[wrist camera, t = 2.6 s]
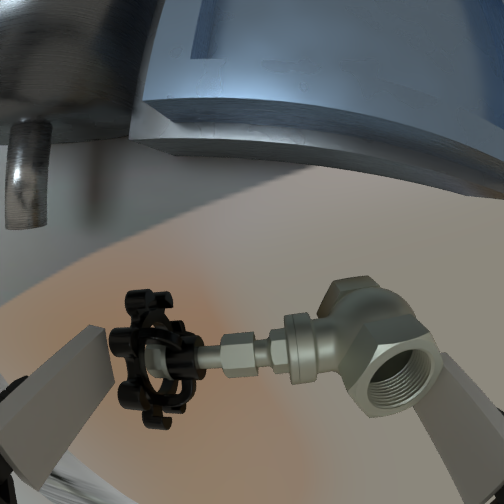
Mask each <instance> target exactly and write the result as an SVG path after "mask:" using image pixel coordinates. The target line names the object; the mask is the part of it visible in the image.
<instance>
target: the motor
mask: <svg viewBox="0 0 504 504" xmlns="http://www.w3.org/2000/svg"><path fill="white" fill-rule="evenodd" d="M126 135H129V140H131V141H134V142H137V143H140V144H143V145H146V146H149V147H151V148H154V149H157V150H160V151H163V152H166V153H168V154H171V155H174V156H205V157H228V158H245V159H258V160H270V161H281V162H291V163H300V164H308V165H316V166H324V167H331V168H339V169H344V170H351V171H357V172H363V173H369V174H374V175H380V176H385V177H390V178H395V179H400V180H404V181H409V182H414V183H418V184H423V185H427V186H431V187H435V188H439V189H443V190H447V191H451V192H454V193H458V194H462V195H465V196H474V197H484V198H493V199H502V200H504V0H0V145H8V152H7V162H6V177H5V229H8V230H22V229H32V228H38V227H42V226H45V225H47V184H48V167H49V155H50V145H51V144H57V143H73V142H85V141H95V140H103V139H110V138H116V137H121V136H126Z"/></svg>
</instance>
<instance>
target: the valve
mask: <svg viewBox="0 0 504 504" xmlns="http://www.w3.org/2000/svg"><path fill="white" fill-rule="evenodd" d="M125 308H126V311H127V313H128V314H129V315H130V316H131V326H130V327H127V328H126V327H125V328H114V329H112V331H111V332H110V335H109V347H110V350H111V352H112V353H113V355H115V356H116V357H124V358H125V360H126V364H127V371H128V378H127V381H124V382H122V383H121V384H120V385H119V388H118V400H119V403H120V405H121V406H122V407H123V408H125V409H131V410H141V411H142V420H143V423H144V425H145V426H146V427H147V428H149V429H160V430H168V429H170V427H171V424H172V418H171V417H163V413H162V410H163V411H164V412H165V413H177V414H183V413H184V412H185V410H186V403H187V402H188V401H189V400H190V399H192V397H193V396H194V394H195V391H196V380H202V379H203V378H204V377H205V375H206V369H211V368H222V369H223V372H224V374H225V375H226V376H227V377H228V378H236V377H249V376H258V367H264V366H265V367H266V366H270V367H272V368H273V371H274V373H275V374H280V373H290V380H291V384H292V385H295V384H302V383H309V382H315V381H316V378H317V374H318V373H324V372H330V371H334V372H337V373H338V374H339V375H340V376H341V377H342V379H343V382H344V385H345V387H346V390H347V392H348V394H349V395H350V396H351V398H352V399H353V400H354V402H355V403H356V404H357V405H358V406H359V408H360V409H361V410H362V411H363V412H364V413H365V414H366V415H367V416H368V417H369V418H374V417H383V416H388V415H392V414H396V413H398V412H401V411H403V410H406V409H407V408H410V407H412V406H413V405H415V404H416V403H417V402H418V401H420V400H421V399H422V398H423V397H424V396H425V394H426V393H427V392H428V391H429V390H430V388H431V387H432V386H433V384H434V383H435V381H436V379H437V378H438V376H439V374H440V372H441V370H442V368H443V365H444V364H443V360H442V357H441V354H440V351H439V349H438V347H437V345H436V342H435V340H434V338H433V337H432V335H431V333H430V331H429V330H428V329H426V328H425V327H424V326H423V325H422V324H421V323H420V322H419V321H418V320H417V319H416V316H415V314H414V312H413V310H412V309H411V307H410V306H409V304H408V303H407V302H406V301H405V300H404V299H403V298H402V297H400V296H399V295H398V294H396V293H394V292H392V291H390V290H387V289H383V288H380V286H379V285H378V284H377V283H376V282H375V281H374V280H373V279H371V278H370V277H369V276H357V277H350V278H344V279H339V280H335V281H333V282H332V283H331V285H330V287H329V289H328V291H327V293H326V294H325V296H324V298H323V300H322V302H321V304H320V307H319V309H318V311H317V316H318V318H319V319H313V320H312V319H310V316H309V314H308V313H307V312H306V313H298V314H292V315H285V316H284V326H285V327H284V328H281V329H274V330H271V331H270V333H269V334H270V335H269V337H268V338H267V339H263V340H255V335H254V332H245V333H235V334H224V335H223V337H222V339H221V342H220V345H217V346H204V342H203V340H202V339H201V337H200V336H198V335H195V334H194V333H191V332H187V331H186V330H185V325H184V323H183V321H181V320H179V321H169V319H168V318H167V316H166V315H165V314H164V311H165V308H173V299H172V296H171V294H170V292H167V291H166V292H154V293H153V292H152V291H151V290H150V289H142V290H132V291H128V292H127V294H126V297H125ZM152 325H154V327H155V328H152V327H151V326H152ZM145 345H147V346H146V348H145ZM145 365H146V366H145ZM146 368H147V371H148V372H149V373H150V374H151V375H152V376H153V377H155V378H163V382H162V385H161V388H160V390H159V391H158V392H156V391H155V390H154V388H153V387H152V385H151V383H150V381H149V378H148V375H147V371H146ZM179 380H181V381H182V391H181V393H180V394H176V391H177V386H178V381H179Z"/></svg>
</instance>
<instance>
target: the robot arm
mask: <svg viewBox="0 0 504 504" xmlns="http://www.w3.org/2000/svg"><path fill="white" fill-rule="evenodd" d="M440 354H441V357H442V360H443V364H444V365H443V368H442V370H441V372H440V374H439V376H438V378H437V379H436V381H435V383H434V384H433V386H432V387H431V388H430V390H429V391H428V392H427V393H426V394H425V396H424V397H423V398H422V399H421V400H420V401H418V402H417V403H416V404H415V405H413V408H414V410H415V411H416V413H417V415H418V416H419V418H420V420H421V422H422V423H423V425H424V427H425V429H426V431H427V432H428V434H429V435H430V437H431V440H432V441H433V443H434V445H435V447H436V449H437V451H438V452H439V454H440V456H441V458H442V460H443V462H444V464H445V465H446V467H447V469H448V471H449V473H450V475H451V477H452V479H453V481H454V483H455V485H456V487H457V489H458V491H459V493H460V496H461V497H462V500H463V502H464V504H485V503H486V502H487V501H488V500H489V499H490V498H491V497H492V496H493V495H495V497H496V498H495V499H494V500H493V501H492V502H491V503H490V504H504V412H503V411H501V410H500V409H498V408H497V407H496V406H495V405H494V404H493V403H492V402H491V401H490V399H489V398H488V397H487V396H486V395H485V394H484V393H483V392H482V390H481V389H480V388H479V387H478V386H477V385H476V384H475V383H474V382H473V381H472V379H471V378H470V377H469V376H468V375H467V374H466V373H465V372H464V371H463V370H462V369H461V368H460V366H458V364H457V363H456V362H455V361H454V360H453V359H452V358H451V357H450V356H449V355H448V354H447V353H445V352H444V353H440ZM114 383H115V380H114V376H113V371H112V366H111V362H110V356H109V351H108V346H107V339H106V332H105V328H101V327H96V326H93V325H89V326H88V327H86V328H85V329H84V330H83V331H81V332H80V333H79V334H78V335H77V336H75V337H74V338H73V339H72V340H71V341H69V342H68V343H67V344H66V345H65V346H64V347H62V348H61V349H60V350H59V351H58V352H56V353H55V354H54V355H53V356H52V357H51V358H50V359H49V360H47V361H46V362H45V363H44V364H43V365H41V366H40V367H39V368H38V369H37V370H36V371H35V372H34V373H32V374H31V375H30V376H24V377H22V378H19V379H17V380H15V381H14V382H12V383H11V384H10V385H9V386H8V387H7V388H6V390H3V391H2V392H1V393H0V504H17V500H16V494H15V488H14V481H13V478H12V476H11V475H10V474H11V472H12V471H14V472H15V473H16V474H17V475H18V477H19V478H20V479H21V480H22V481H23V482H25V483H26V484H27V485H29V486H31V487H32V488H33V489H35V490H37V491H39V490H40V488H41V487H42V485H43V484H44V482H45V481H46V479H47V478H48V476H49V475H50V473H51V472H52V470H53V469H54V468H55V466H56V465H57V463H58V462H59V460H60V459H61V457H62V456H63V454H64V453H65V451H66V450H67V449H68V447H69V446H70V444H71V443H72V441H73V440H74V439H75V437H76V436H77V434H78V433H79V432H80V430H81V429H82V427H83V426H84V424H85V423H86V422H87V420H88V419H89V418H90V416H91V415H92V413H93V412H94V411H95V409H96V408H97V406H98V405H99V404H100V402H101V401H102V400H103V398H104V397H105V395H106V394H107V393H108V391H109V390H110V389H111V387H112V386H113V385H114Z"/></svg>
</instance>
